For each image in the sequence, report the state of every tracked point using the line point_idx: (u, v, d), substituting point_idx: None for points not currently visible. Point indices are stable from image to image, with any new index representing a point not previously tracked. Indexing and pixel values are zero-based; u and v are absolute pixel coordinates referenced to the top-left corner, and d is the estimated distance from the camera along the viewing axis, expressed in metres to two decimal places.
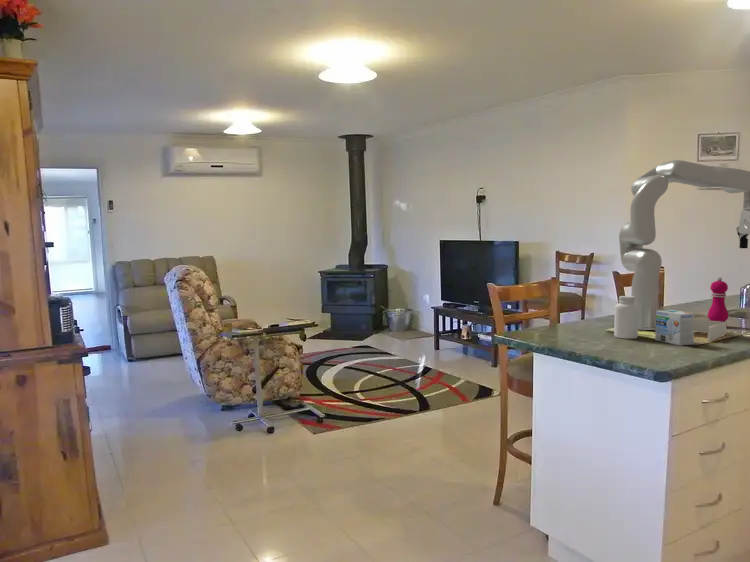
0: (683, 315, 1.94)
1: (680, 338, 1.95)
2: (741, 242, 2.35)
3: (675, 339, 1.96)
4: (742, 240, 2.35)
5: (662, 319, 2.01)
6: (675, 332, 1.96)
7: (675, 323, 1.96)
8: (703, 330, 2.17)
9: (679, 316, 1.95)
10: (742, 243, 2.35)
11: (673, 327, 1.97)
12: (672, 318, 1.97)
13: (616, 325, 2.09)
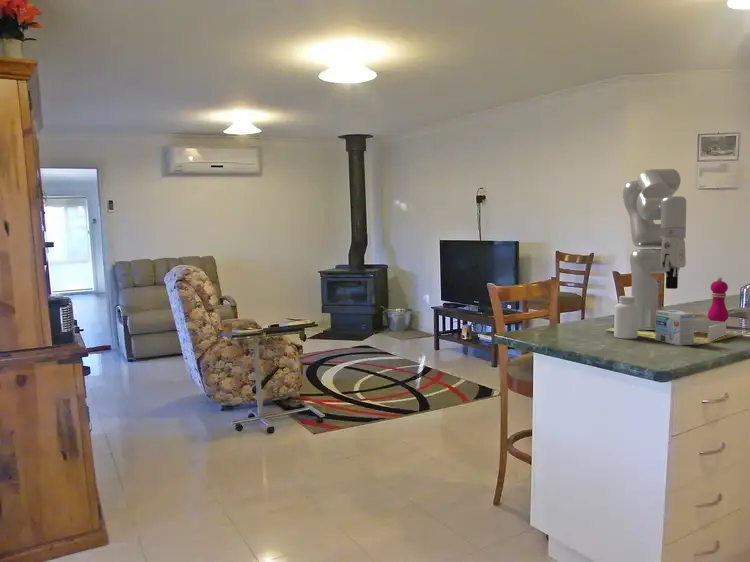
0: (683, 315, 1.94)
1: (680, 338, 1.95)
2: None
3: (675, 339, 1.96)
4: None
5: (662, 319, 2.01)
6: (675, 332, 1.96)
7: (675, 323, 1.96)
8: (703, 330, 2.17)
9: (679, 316, 1.94)
10: None
11: (673, 327, 1.97)
12: (672, 318, 1.97)
13: (616, 325, 2.09)
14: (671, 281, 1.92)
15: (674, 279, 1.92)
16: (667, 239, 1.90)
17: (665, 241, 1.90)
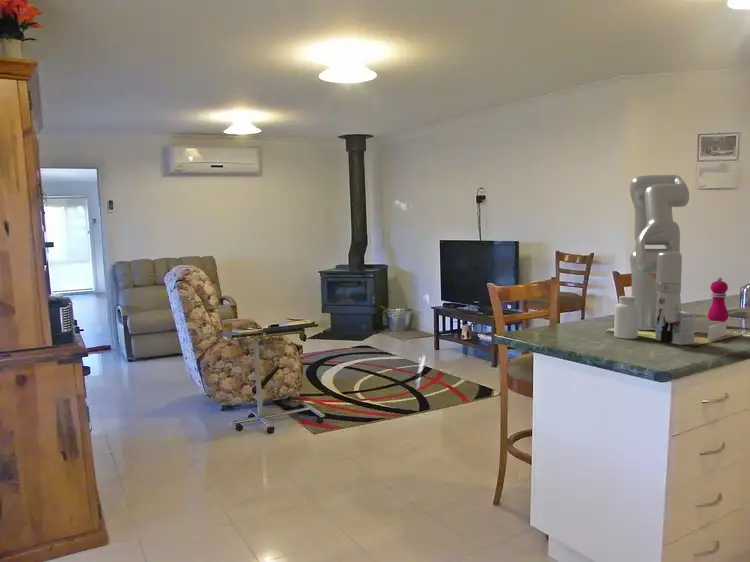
0: (684, 314, 1.94)
1: (681, 338, 1.95)
2: None
3: (675, 338, 1.96)
4: None
5: None
6: (676, 331, 1.96)
7: (676, 322, 1.96)
8: (703, 330, 2.17)
9: (680, 315, 1.95)
10: None
11: (674, 327, 1.97)
12: None
13: (616, 325, 2.09)
14: (666, 335, 1.95)
15: (669, 333, 1.94)
16: (662, 294, 1.92)
17: (660, 296, 1.92)
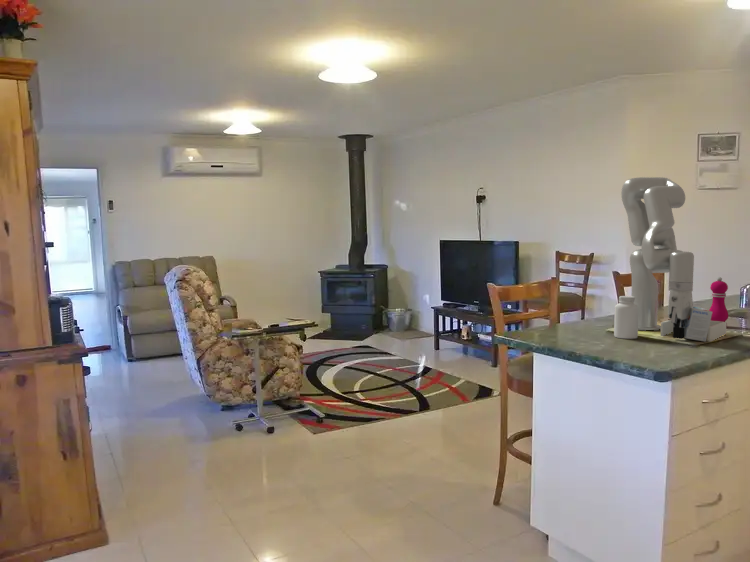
0: (696, 310, 2.00)
1: (689, 332, 2.01)
2: None
3: (685, 332, 2.03)
4: None
5: None
6: (687, 325, 2.03)
7: (689, 316, 2.03)
8: None
9: (691, 310, 2.01)
10: None
11: (687, 321, 2.04)
12: None
13: (616, 325, 2.09)
14: (678, 331, 2.03)
15: (681, 330, 2.03)
16: (674, 292, 2.00)
17: (672, 294, 2.01)
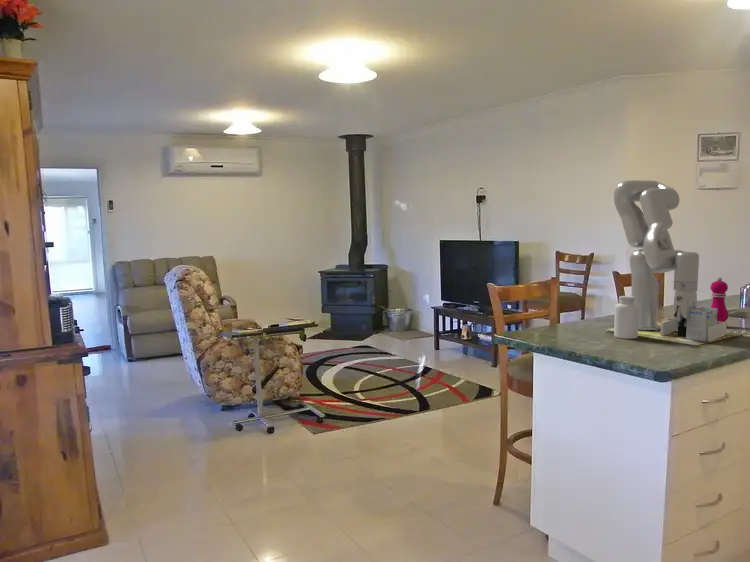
0: None
1: (687, 333, 2.05)
2: None
3: None
4: None
5: None
6: None
7: None
8: None
9: None
10: None
11: None
12: None
13: (616, 325, 2.09)
14: (682, 330, 2.07)
15: (685, 328, 2.07)
16: (679, 292, 2.04)
17: (677, 294, 2.04)
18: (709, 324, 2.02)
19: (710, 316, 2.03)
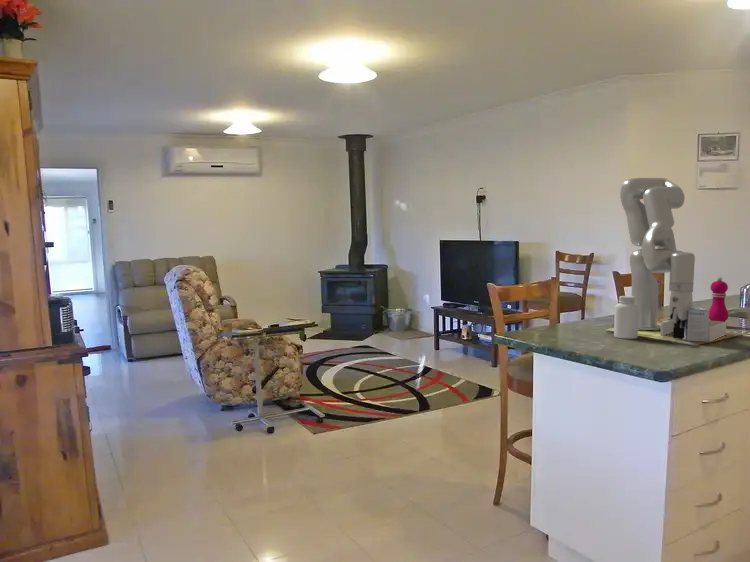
0: (692, 312, 2.01)
1: (689, 334, 2.02)
2: None
3: (686, 334, 2.04)
4: None
5: None
6: (686, 327, 2.04)
7: (687, 319, 2.04)
8: None
9: (688, 312, 2.02)
10: None
11: (686, 323, 2.04)
12: None
13: (616, 325, 2.09)
14: (678, 332, 2.04)
15: (681, 330, 2.04)
16: (675, 293, 2.01)
17: (673, 295, 2.02)
18: None
19: None
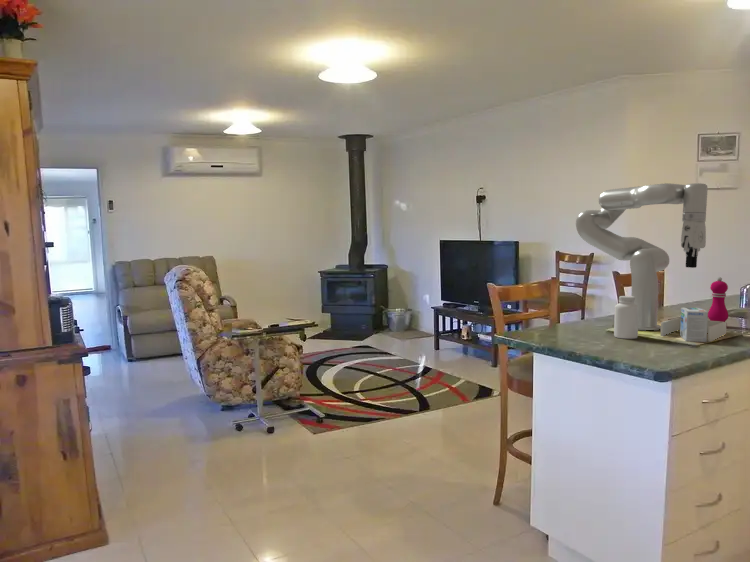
0: (691, 312, 2.01)
1: (688, 334, 2.02)
2: None
3: (685, 335, 2.04)
4: None
5: (682, 316, 2.09)
6: (685, 328, 2.04)
7: (685, 319, 2.04)
8: None
9: (687, 313, 2.02)
10: None
11: (685, 324, 2.04)
12: (685, 315, 2.05)
13: (616, 325, 2.09)
14: (690, 260, 2.12)
15: (693, 259, 2.12)
16: (687, 222, 2.10)
17: (685, 224, 2.10)
18: None
19: None
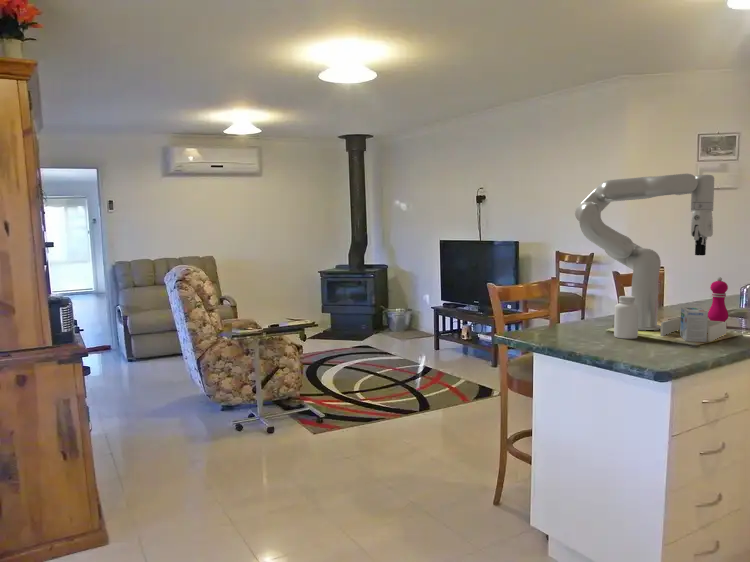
0: (691, 312, 2.01)
1: (688, 334, 2.02)
2: None
3: (685, 335, 2.04)
4: None
5: (682, 316, 2.09)
6: (685, 328, 2.04)
7: (685, 319, 2.04)
8: None
9: (687, 313, 2.02)
10: None
11: (685, 324, 2.04)
12: (685, 315, 2.05)
13: (616, 325, 2.09)
14: (700, 249, 2.22)
15: (702, 247, 2.22)
16: (697, 212, 2.19)
17: (695, 214, 2.19)
18: None
19: None
